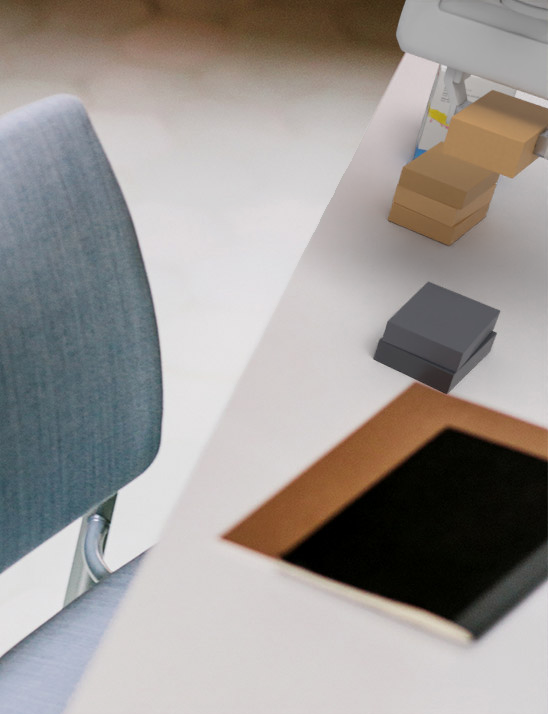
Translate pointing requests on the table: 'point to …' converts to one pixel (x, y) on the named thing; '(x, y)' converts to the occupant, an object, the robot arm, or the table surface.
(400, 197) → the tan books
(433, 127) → the ink box
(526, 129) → the tan rectangular block
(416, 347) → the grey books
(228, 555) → the table surface
